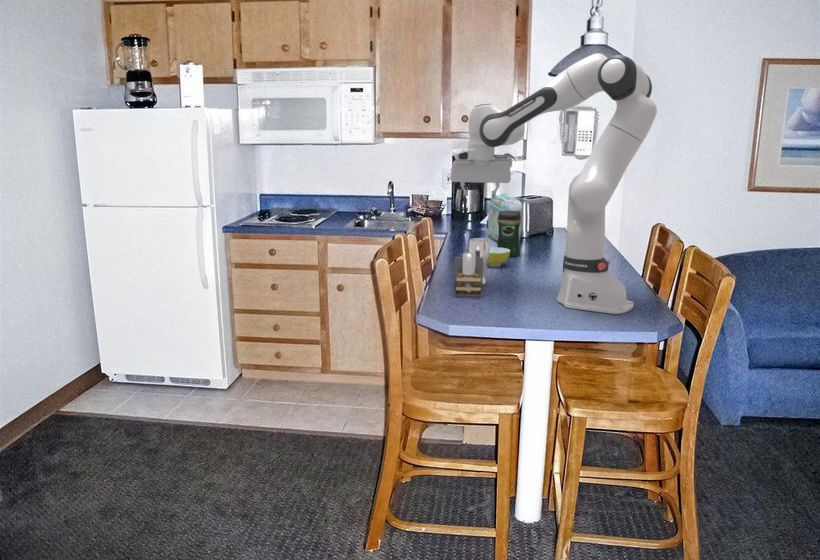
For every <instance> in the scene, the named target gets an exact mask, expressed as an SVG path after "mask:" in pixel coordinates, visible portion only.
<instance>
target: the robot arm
mask: <svg viewBox="0 0 820 560" xmlns="http://www.w3.org/2000/svg"><path fill="white" fill-rule="evenodd" d="M652 91H653V84H652V81H651V79H650V77H649V75H648V74H647V73H646V72H645V71H644V68H642V67H641V66H640V65H639V64H638V63H637V62H635V61H634V60H633V59H632V58H631V57H628V56H626V55H621V54H615V55H611V56H609V57H607V56H605V55H604V53H603V54H602V53H600V52H599V53H594V54H591V55H588V56H586V57H584V58H582V59H580V60H579V61H577V62H575V63H573V64H572V65H570V66H569V67H567V68H566V69H564V70H563V71H561V72H560V73H558V74H557V75H556V76H555V77H554V78H552V79H551V80H549V81H548V82H547V83H545V84H544V85H543V86H542V87H540V88H539V89H537V91H535V92H534V93H532V94H530V95H528V96H527V97H525V98H524V99H522V100H521V101H519V102H517V103H515V104H514V105H513V106H511V107H510V108H507V109H506V110H501V109H499V108H498V107H497V106H496V105H495V104H492V103H485V104H484V103H483V104H478V105H475V106H474V107H472V108H471V110H470V113H469V121H468V136H469V139H468V140H469V141H468V144H467V149H463V150H460V151H458V152H455V153H454V159H455V160H453V163H452V164H451V170H450V176H449V177H450V178H449V179H450V181H451V182H452V183H460V187H461V189H462V191H463V197H468V195H469V191H468V189H467V190H466V188H465V185H466V183H483V184H484V183H485V184H487V183H488V184H489V183H490V184H493V183H494V186H495V188H494V190H491V194H490V196H491V197H492V196H496V195H497V191H498V190H499V188H500V185H501V184H509V183H510V182H511V179H512V178H511V168H512V166H513V158H512V157H511V156H509V155H507V154H495V150H496V148H497V147H501V146H509V145H510V146H511V145H514V144H516V143H518V142H519V141H521V139H522V138H523V136H524V133H525V124H526V123H528V122H530V121H531V120H533V119H535V118H536V117H538V116H540V115H543V114H546V113H551V112H558V111H559V112H560V111H565V110H568V109H572V108H574V107H577V105H580V104H582V103H584V102H586V101H587V100H588V99H589V98H591V97H593V96H594V95H595V94H597V93H601V92H605V93H606V94H607V96H609V98H610V99H611V100H613V101H615V102H616V109H615V111H614V114H613V116H612V117H611V119H610V120H609V122H608V123H607V125H606V127H605V129H604V130H603V132H602V134H601V135H600V137H599V139H598V140H597V142H596V143H595V145H594V147H593V149H592V151H591V153H590V154H589V156H588V158H587V160H586V162H585V164H584V166H583V167H582V169H581V171H580V173H579V174H577V175H576V176H574V177H573V179H572V180H571V182H570V184H569V187H568V200H567V222H566V224H567V225H566V240H565V254H564V255H563V259H562V274H563V275H562V280H561V285H560V289H559V292H558V296H557V298H556V301H557V302H558V303H560V304H562V305H563V306H564V307H565V308H568V309H573V310H583V311H590V312H596V313H604V314H613V315H619V314H625V313H627V312H630V311H631V310H632V309H634V306H635V305H634V302H633V301H632V300H631V301H630V300H627V289H626V286H625V285H624V283H622V282H621V281H620V280H619V279H618V278H617V277H615V276H614V274H613V273H611V272H610V271H609V265H611V260H607V259H606V258H605V257H604V249H605V247H604V246H605V237H606V222H605V221H606V207H607V205H608V203H609V201H610V200H611V198H612V196H613V195H614V194H615V191H616V189H617V187H618V185H620V184H619V183H620V182H621V180H622V178H623V177H624V174H625V172H626V169H627V168H628V166H629V165H630V163H631V162H632V160H633V159H634V157H635V155H636V153H637V152H638V150H639V149H640V147H641V146H642V144H643V142H644V141H645V139H646V138H647V136H648V134H649V132H650V130H651V128H652V126H653V123H654V122H655V119H656V115H657V113H658V109H657V105H656V104H655V102H654V101H653V100H652V99H651V98H650V97H651V95H652Z"/></svg>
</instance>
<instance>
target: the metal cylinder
mask: <svg viewBox="0 0 820 560" xmlns="http://www.w3.org/2000/svg"><path fill="white" fill-rule="evenodd" d="M462 257H463V270H462V277H467V278H475V257H476V254H475V253H469V252H463V253H462ZM462 287H475V281H462ZM462 291H464V292H474V291H467V290H462Z"/></svg>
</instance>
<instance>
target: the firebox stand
mask: <svg viewBox="0 0 820 560" xmlns="http://www.w3.org/2000/svg"><path fill="white" fill-rule="evenodd" d="M462 270H463V256H455V257H454V280H453V281H454V283H453V284H454V286H453V287H454V289H453V297H454V298H473V297H478V298H477V299H483V296H484V291H483V285H482V277H483V257H475V278H467V277H462ZM462 281H475V287H462ZM462 290H467V291H474V292H464V291H462Z"/></svg>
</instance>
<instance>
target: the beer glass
mask: <svg viewBox="0 0 820 560" xmlns="http://www.w3.org/2000/svg"><path fill="white" fill-rule="evenodd" d="M468 243H469V245H468V253H475V254H476V257H483V277H482V286H485V285H487V284H488V280H487V270H488V266H489V263H488V260H489V252H490V248H489V247H490V239H488V238H482V237H481V238H480V237H476V238H475V237H474V238H470V239H469V242H468Z"/></svg>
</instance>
